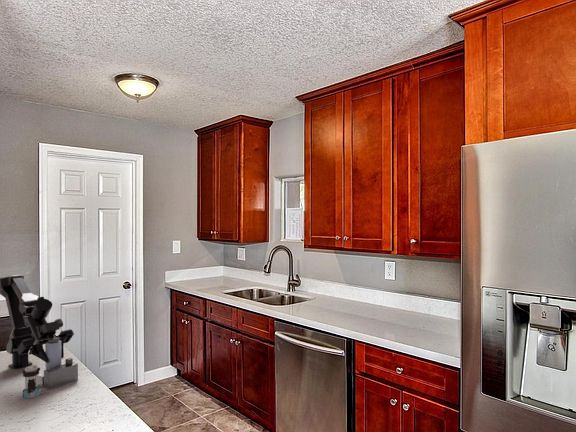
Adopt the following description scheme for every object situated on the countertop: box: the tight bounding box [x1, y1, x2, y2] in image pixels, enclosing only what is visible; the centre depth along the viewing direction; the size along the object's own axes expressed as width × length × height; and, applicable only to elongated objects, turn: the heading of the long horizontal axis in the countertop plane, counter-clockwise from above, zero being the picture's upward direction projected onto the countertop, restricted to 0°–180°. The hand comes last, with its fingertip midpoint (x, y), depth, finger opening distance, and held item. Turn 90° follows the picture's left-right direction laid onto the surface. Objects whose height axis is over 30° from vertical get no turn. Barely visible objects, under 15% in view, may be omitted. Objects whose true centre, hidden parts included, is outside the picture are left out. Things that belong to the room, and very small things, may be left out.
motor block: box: [37, 357, 79, 390], centre depth 156 cm, size 9×10×8 cm
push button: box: [21, 364, 46, 400], centre depth 144 cm, size 7×5×10 cm
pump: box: [44, 338, 62, 370], centre depth 158 cm, size 5×5×14 cm
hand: (55, 360), depth 157 cm, fingers closed on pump, 5 cm apart
